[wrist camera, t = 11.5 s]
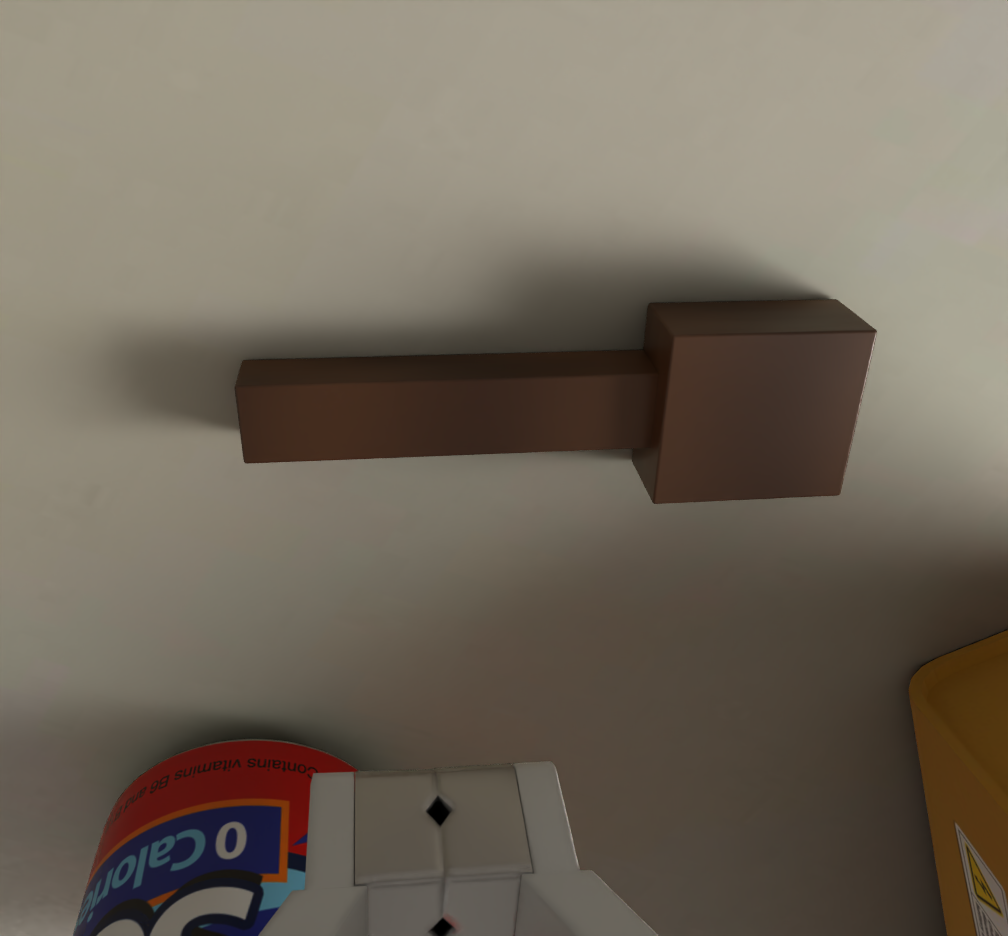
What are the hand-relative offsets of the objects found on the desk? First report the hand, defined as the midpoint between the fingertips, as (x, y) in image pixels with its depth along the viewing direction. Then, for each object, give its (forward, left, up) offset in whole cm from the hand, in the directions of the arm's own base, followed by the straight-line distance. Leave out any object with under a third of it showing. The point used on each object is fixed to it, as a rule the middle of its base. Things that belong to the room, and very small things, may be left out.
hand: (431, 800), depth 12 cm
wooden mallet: (-1, +4, -11) cm, 12 cm away
